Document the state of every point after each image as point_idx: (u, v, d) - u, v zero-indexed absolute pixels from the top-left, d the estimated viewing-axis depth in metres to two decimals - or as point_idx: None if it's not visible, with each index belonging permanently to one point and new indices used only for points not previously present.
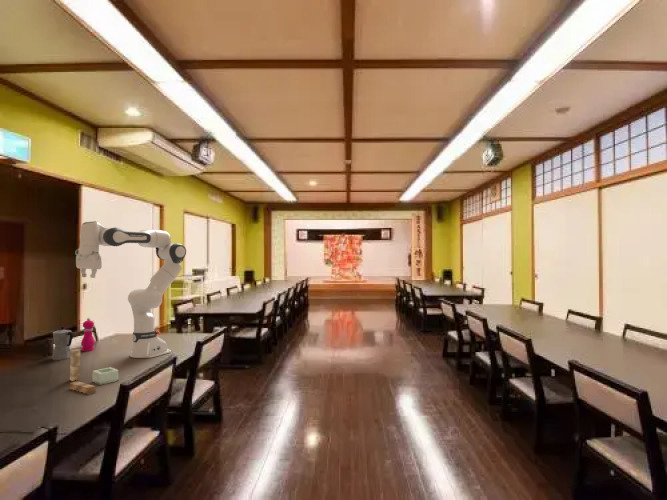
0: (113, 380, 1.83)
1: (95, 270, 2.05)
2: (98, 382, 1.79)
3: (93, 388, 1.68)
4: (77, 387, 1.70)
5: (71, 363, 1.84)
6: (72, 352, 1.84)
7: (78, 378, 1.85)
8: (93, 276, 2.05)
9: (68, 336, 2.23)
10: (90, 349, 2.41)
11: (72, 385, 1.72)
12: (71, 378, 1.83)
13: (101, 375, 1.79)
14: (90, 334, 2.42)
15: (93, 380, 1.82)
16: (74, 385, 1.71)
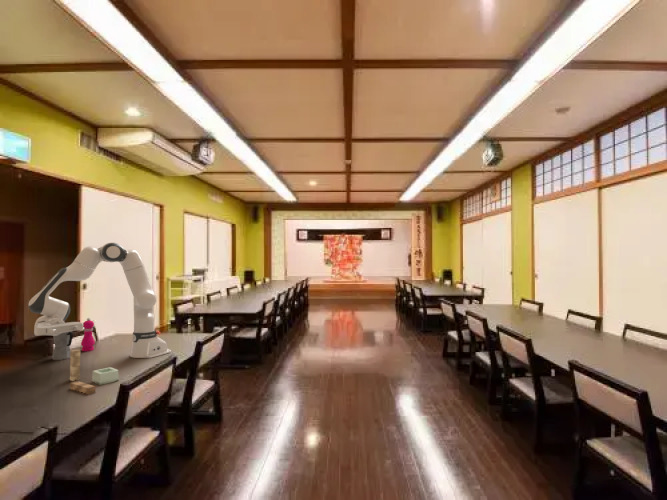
0: (113, 380, 1.83)
1: None
2: (98, 382, 1.79)
3: (93, 388, 1.68)
4: (77, 387, 1.70)
5: (71, 363, 1.84)
6: (72, 352, 1.84)
7: (78, 378, 1.85)
8: None
9: (68, 336, 2.23)
10: (90, 349, 2.41)
11: (72, 385, 1.72)
12: (71, 378, 1.83)
13: (101, 375, 1.79)
14: (90, 334, 2.42)
15: (93, 380, 1.82)
16: (74, 385, 1.71)
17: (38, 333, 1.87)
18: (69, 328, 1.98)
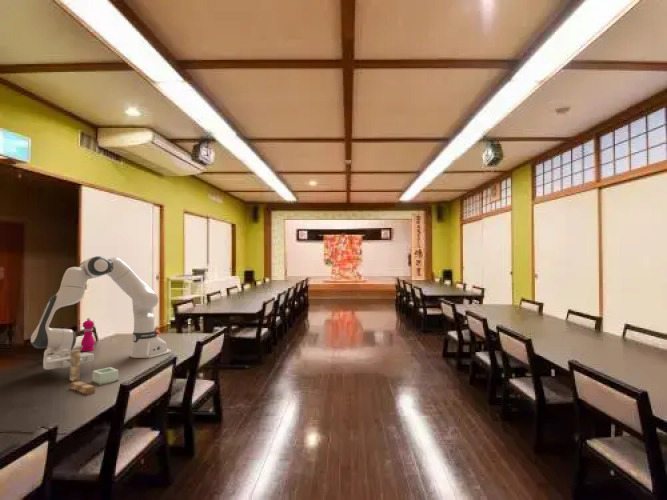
0: (113, 380, 1.83)
1: None
2: (98, 382, 1.79)
3: (92, 388, 1.67)
4: (77, 386, 1.70)
5: None
6: (72, 352, 1.84)
7: (78, 378, 1.85)
8: None
9: None
10: (90, 349, 2.41)
11: (72, 385, 1.72)
12: (71, 378, 1.83)
13: (101, 375, 1.79)
14: (90, 334, 2.42)
15: (93, 380, 1.82)
16: (74, 385, 1.71)
17: (47, 367, 1.80)
18: None
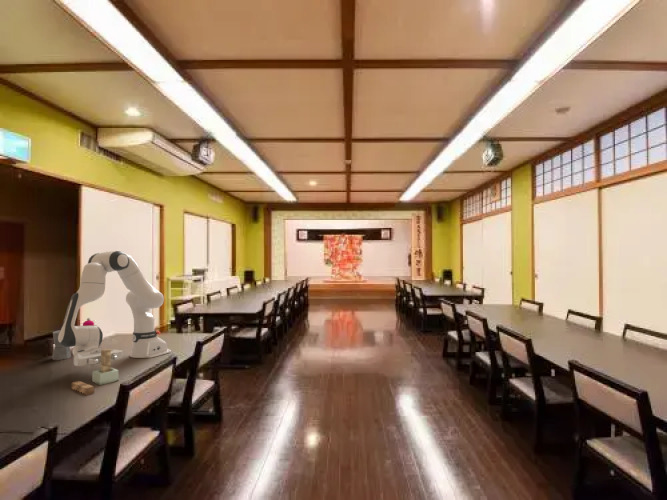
0: (113, 380, 1.83)
1: None
2: (98, 382, 1.79)
3: (91, 389, 1.67)
4: (77, 386, 1.70)
5: (102, 363, 1.83)
6: (103, 351, 1.82)
7: None
8: None
9: None
10: None
11: (73, 385, 1.72)
12: None
13: (101, 375, 1.79)
14: None
15: (93, 380, 1.82)
16: (75, 385, 1.71)
17: (79, 364, 1.78)
18: None
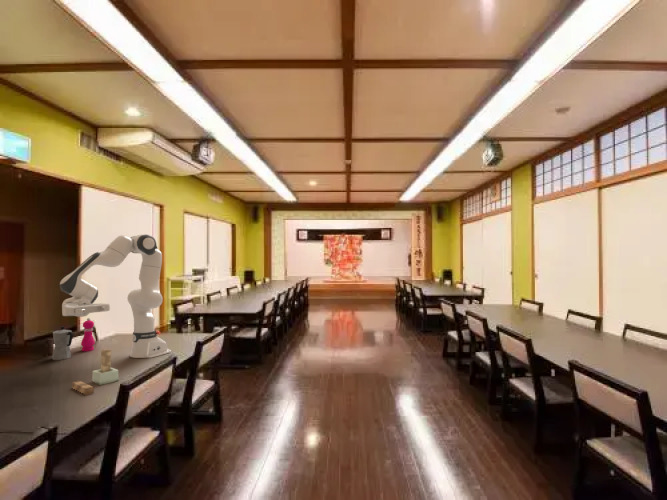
0: (113, 380, 1.83)
1: None
2: (98, 382, 1.79)
3: (90, 389, 1.67)
4: (77, 386, 1.70)
5: (102, 363, 1.83)
6: (103, 351, 1.82)
7: None
8: None
9: (68, 336, 2.23)
10: (90, 349, 2.41)
11: (73, 385, 1.72)
12: None
13: (101, 375, 1.79)
14: (90, 334, 2.42)
15: (93, 380, 1.82)
16: (75, 385, 1.71)
17: (67, 313, 1.88)
18: (96, 309, 1.99)
